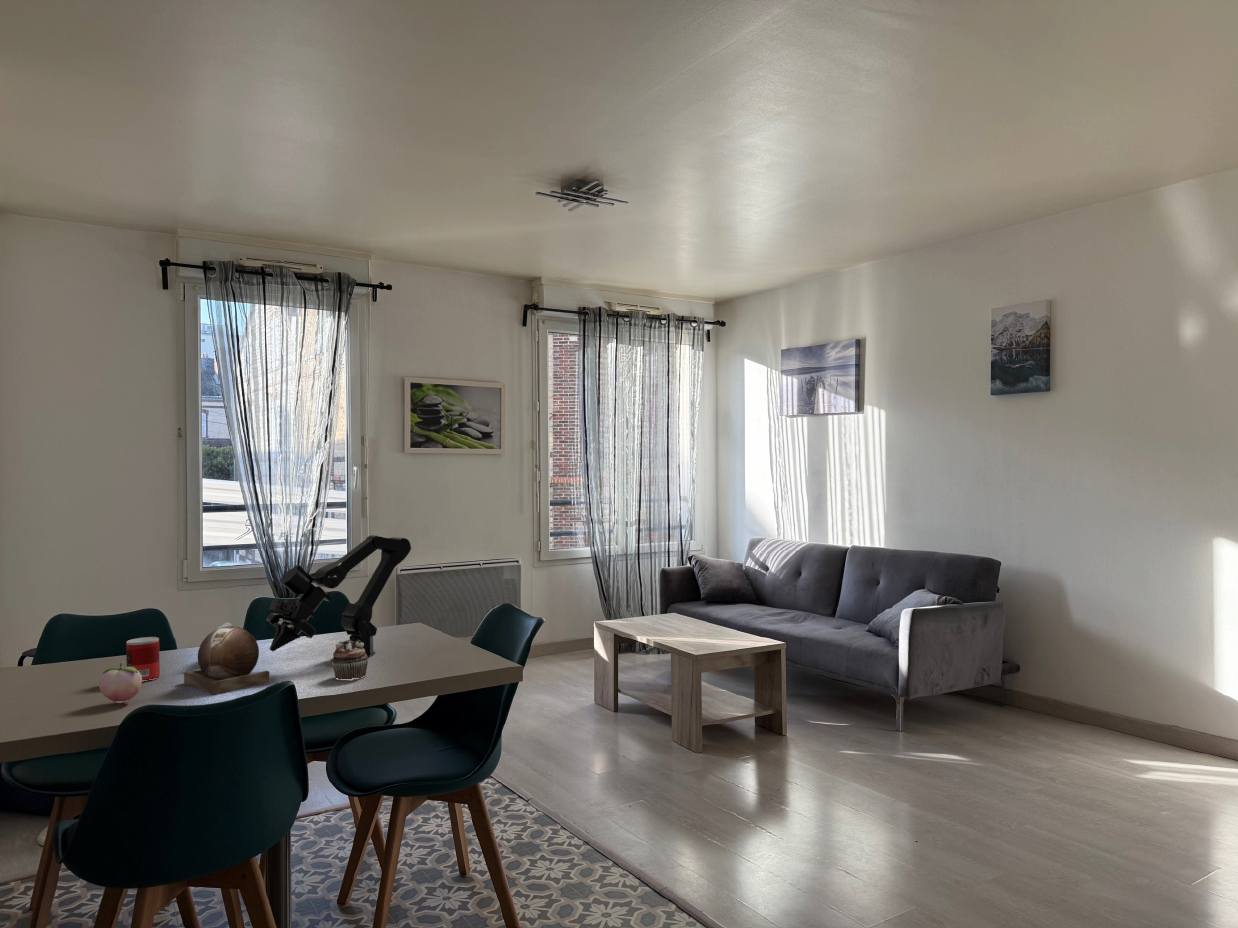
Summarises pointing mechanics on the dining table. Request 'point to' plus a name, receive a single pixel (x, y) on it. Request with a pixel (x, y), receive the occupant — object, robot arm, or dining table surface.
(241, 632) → the wooden sphere
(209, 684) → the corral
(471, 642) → the dining table surface
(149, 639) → the canned food
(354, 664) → the cupcake
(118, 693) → the decorative fruit
